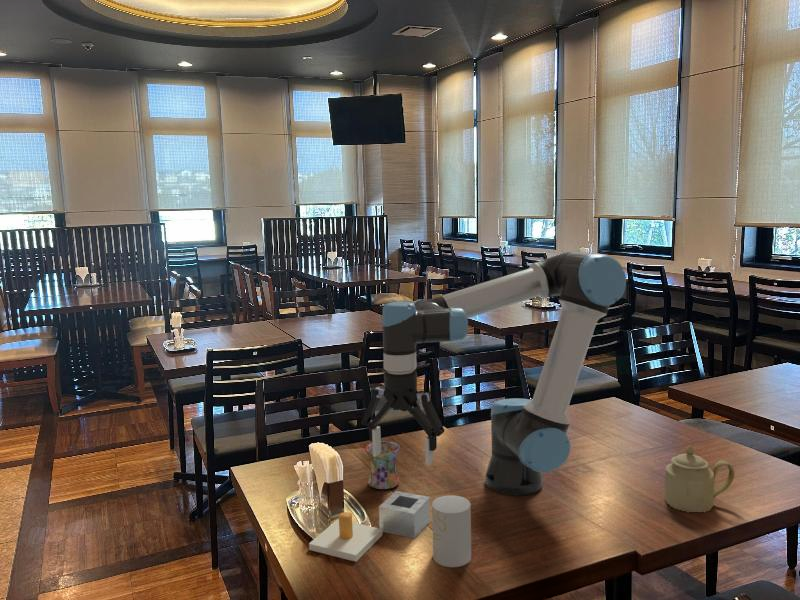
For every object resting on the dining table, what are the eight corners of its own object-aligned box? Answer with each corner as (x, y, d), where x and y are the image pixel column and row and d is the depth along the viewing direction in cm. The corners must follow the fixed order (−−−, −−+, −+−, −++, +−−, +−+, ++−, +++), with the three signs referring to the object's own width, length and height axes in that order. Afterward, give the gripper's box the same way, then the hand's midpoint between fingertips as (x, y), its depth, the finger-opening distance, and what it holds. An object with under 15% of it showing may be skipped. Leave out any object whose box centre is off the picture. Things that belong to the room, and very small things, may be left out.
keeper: (382, 535, 146) (381, 508, 145) (356, 561, 135) (355, 533, 134) (337, 525, 151) (336, 499, 150) (309, 549, 141) (307, 522, 140)
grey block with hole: (430, 520, 152) (429, 497, 151) (414, 538, 144) (414, 513, 143) (396, 513, 156) (396, 490, 155) (379, 530, 148) (378, 506, 147)
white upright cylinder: (430, 547, 140) (429, 496, 138) (467, 545, 141) (466, 494, 139) (436, 568, 132) (434, 514, 130) (474, 565, 133) (473, 511, 131)
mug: (404, 489, 169) (403, 451, 168) (370, 494, 167) (369, 455, 166) (393, 471, 181) (392, 436, 179) (361, 476, 179) (360, 440, 177)
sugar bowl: (699, 487, 166) (701, 432, 163) (735, 505, 155) (738, 446, 153) (654, 498, 160) (656, 441, 158) (688, 517, 150) (690, 456, 148)
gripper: (457, 371, 142) (458, 461, 146) (361, 361, 154) (364, 445, 157) (444, 379, 136) (446, 473, 139) (344, 369, 147) (348, 456, 150)
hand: (402, 459), depth 148 cm, fingers open, 13 cm apart
